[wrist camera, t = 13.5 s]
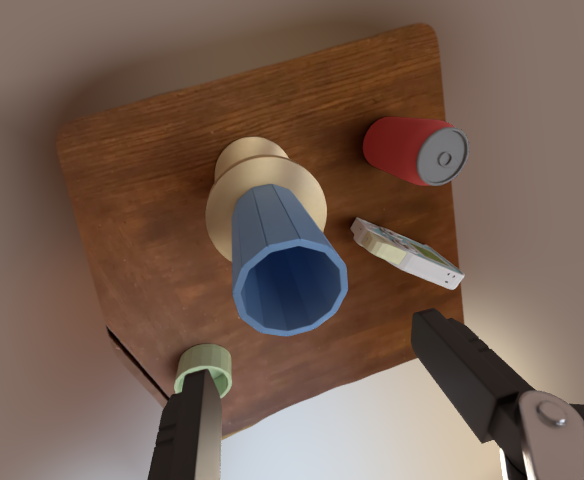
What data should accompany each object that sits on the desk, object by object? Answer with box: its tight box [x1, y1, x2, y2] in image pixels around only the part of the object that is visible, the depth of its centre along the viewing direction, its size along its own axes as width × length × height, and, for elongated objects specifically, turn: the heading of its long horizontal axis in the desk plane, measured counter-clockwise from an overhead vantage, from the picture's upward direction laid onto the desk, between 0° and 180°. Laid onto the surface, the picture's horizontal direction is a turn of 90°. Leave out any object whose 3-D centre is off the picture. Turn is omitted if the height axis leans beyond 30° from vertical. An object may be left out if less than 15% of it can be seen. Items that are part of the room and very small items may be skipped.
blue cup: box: [232, 184, 348, 336], centre depth 18 cm, size 6×6×10 cm
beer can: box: [363, 117, 469, 186], centre depth 32 cm, size 7×7×12 cm
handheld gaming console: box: [350, 217, 465, 290], centre depth 40 cm, size 11×3×15 cm
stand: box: [205, 136, 327, 262], centre depth 29 cm, size 10×10×15 cm
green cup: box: [174, 344, 232, 398], centre depth 46 cm, size 9×9×4 cm
